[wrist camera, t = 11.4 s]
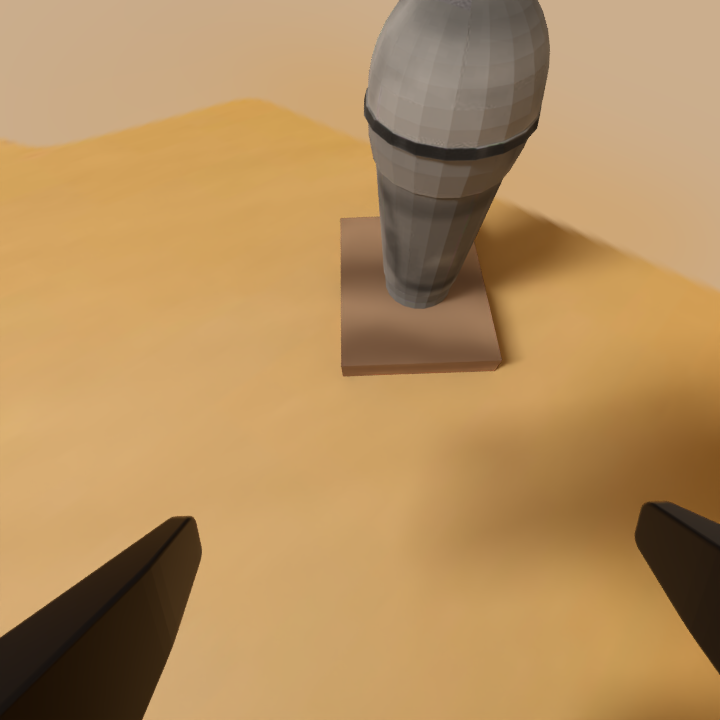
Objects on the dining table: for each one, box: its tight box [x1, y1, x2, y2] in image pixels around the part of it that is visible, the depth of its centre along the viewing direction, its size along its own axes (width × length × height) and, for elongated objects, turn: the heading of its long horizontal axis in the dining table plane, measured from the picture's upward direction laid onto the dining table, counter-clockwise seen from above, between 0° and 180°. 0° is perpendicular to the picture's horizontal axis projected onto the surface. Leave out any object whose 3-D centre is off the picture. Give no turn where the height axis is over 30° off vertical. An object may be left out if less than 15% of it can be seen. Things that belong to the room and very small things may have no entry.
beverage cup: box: [364, 0, 550, 309], centre depth 16 cm, size 7×7×20 cm
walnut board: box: [341, 217, 502, 376], centre depth 26 cm, size 13×10×2 cm
